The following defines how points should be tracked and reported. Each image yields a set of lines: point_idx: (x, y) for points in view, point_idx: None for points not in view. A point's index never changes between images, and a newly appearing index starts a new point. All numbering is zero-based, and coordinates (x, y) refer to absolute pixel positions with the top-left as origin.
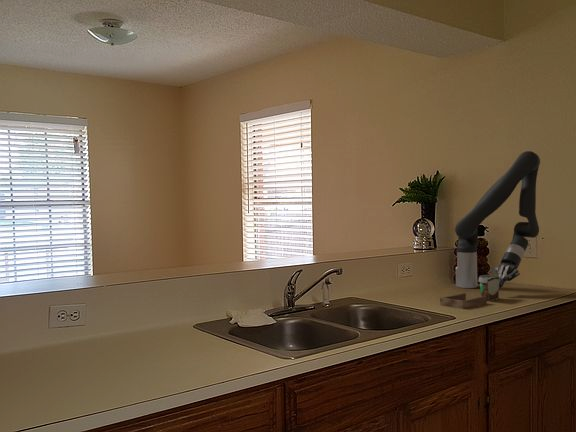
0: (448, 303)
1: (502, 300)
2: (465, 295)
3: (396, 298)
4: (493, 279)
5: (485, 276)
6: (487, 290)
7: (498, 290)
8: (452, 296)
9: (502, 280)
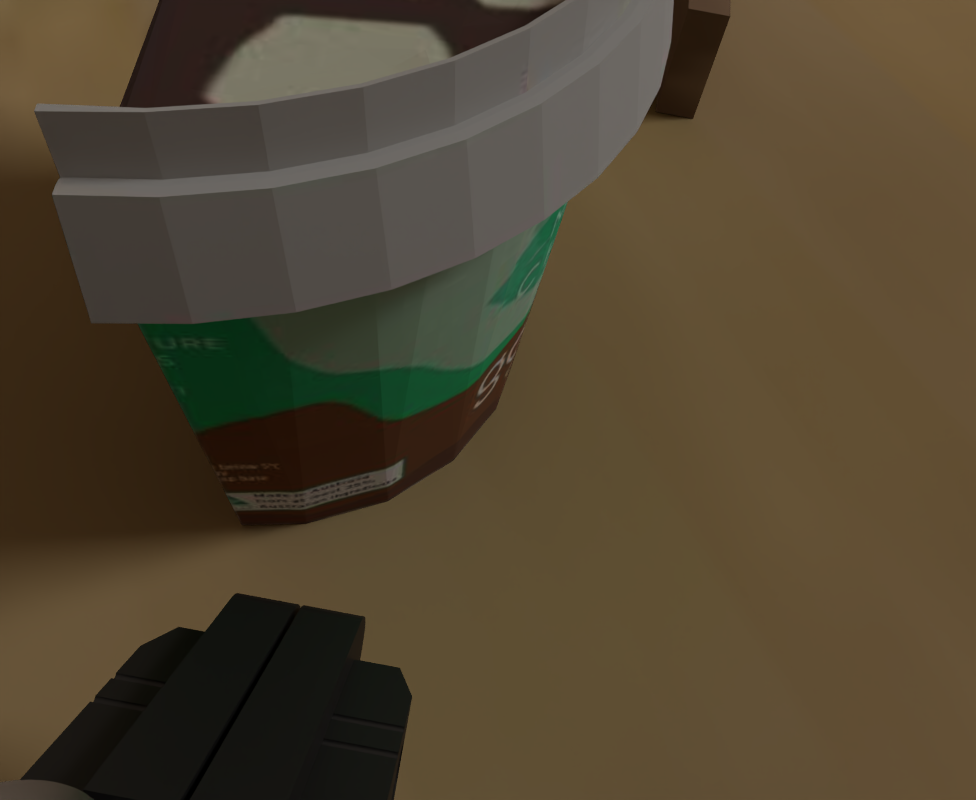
0: None
1: (112, 360)
2: (678, 33)
3: None
4: None
5: (603, 11)
6: None
7: (212, 436)
8: None
9: (66, 779)
